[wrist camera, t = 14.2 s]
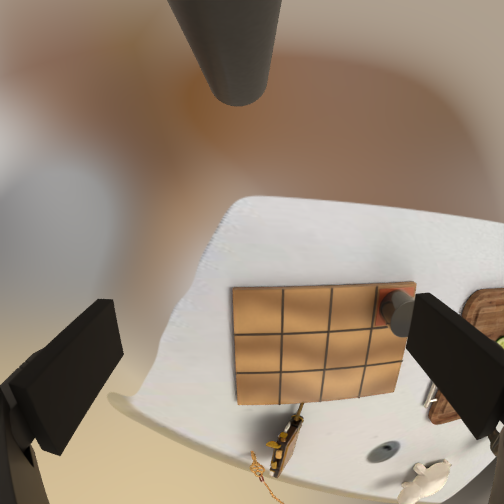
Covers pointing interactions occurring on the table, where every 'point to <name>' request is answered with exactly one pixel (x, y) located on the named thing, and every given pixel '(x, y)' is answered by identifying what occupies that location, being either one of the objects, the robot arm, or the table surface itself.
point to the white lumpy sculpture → (424, 482)
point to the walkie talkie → (281, 448)
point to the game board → (314, 343)
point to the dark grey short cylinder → (397, 312)
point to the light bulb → (492, 439)
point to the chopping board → (485, 320)
